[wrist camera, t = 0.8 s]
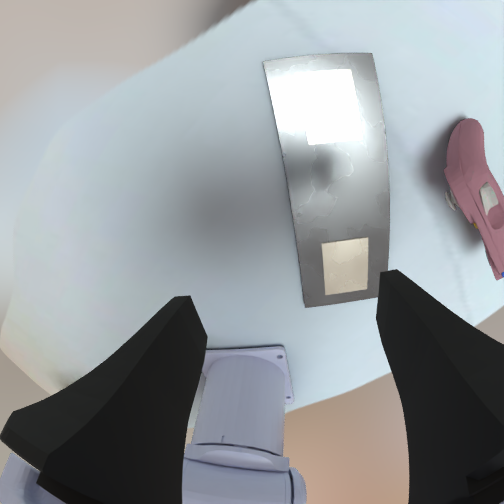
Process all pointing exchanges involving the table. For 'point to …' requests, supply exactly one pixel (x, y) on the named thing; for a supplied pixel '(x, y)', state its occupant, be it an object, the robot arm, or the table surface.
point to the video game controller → (476, 189)
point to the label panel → (334, 171)
